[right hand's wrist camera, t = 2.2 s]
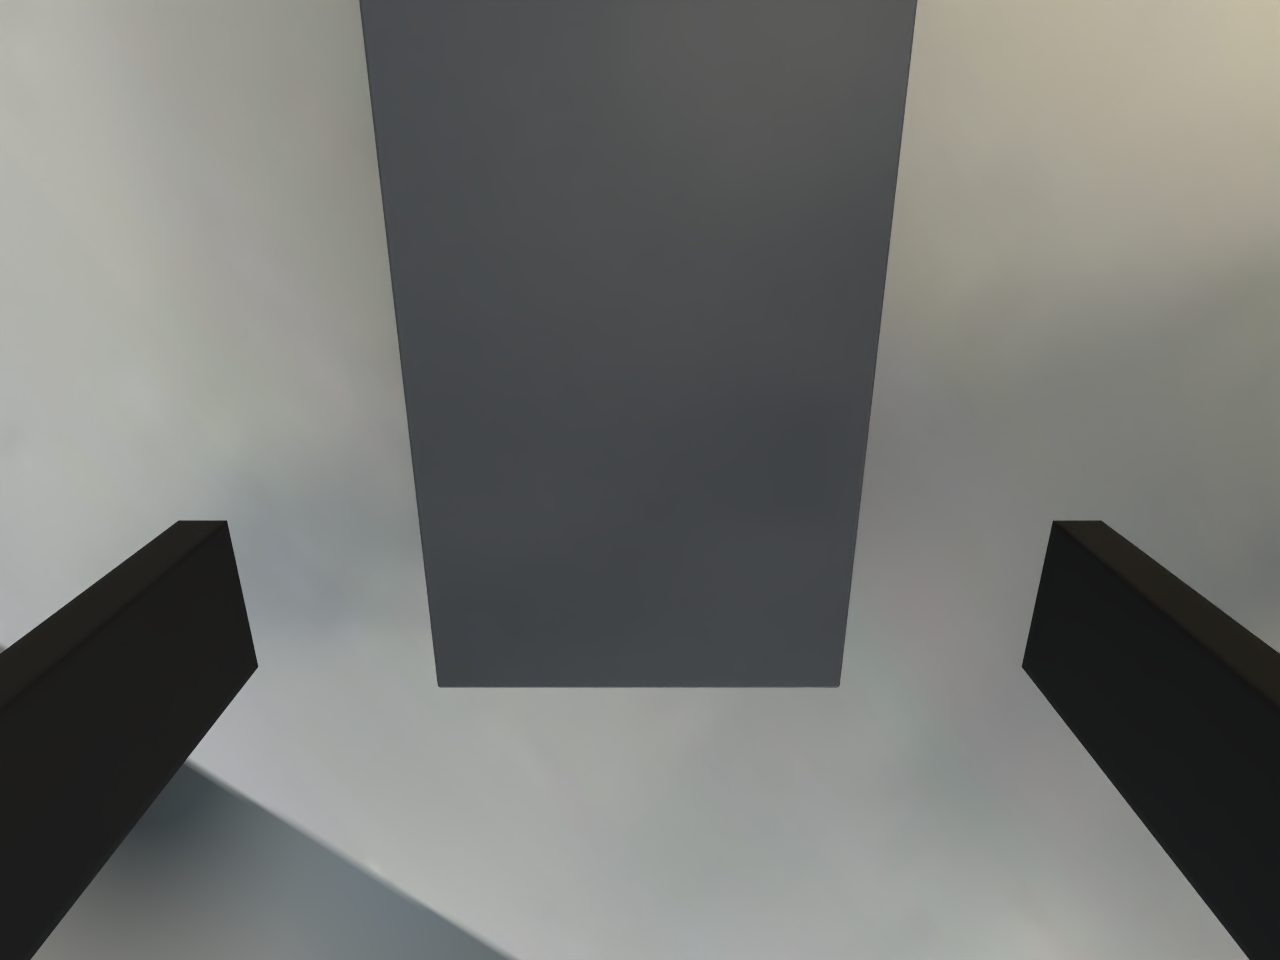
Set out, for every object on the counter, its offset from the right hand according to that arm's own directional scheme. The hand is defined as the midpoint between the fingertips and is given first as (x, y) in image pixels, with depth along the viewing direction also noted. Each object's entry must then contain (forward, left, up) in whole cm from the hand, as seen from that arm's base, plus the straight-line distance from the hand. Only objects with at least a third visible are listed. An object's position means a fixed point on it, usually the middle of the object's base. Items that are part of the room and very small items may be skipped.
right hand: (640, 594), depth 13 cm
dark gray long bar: (+4, -35, -13) cm, 37 cm away
